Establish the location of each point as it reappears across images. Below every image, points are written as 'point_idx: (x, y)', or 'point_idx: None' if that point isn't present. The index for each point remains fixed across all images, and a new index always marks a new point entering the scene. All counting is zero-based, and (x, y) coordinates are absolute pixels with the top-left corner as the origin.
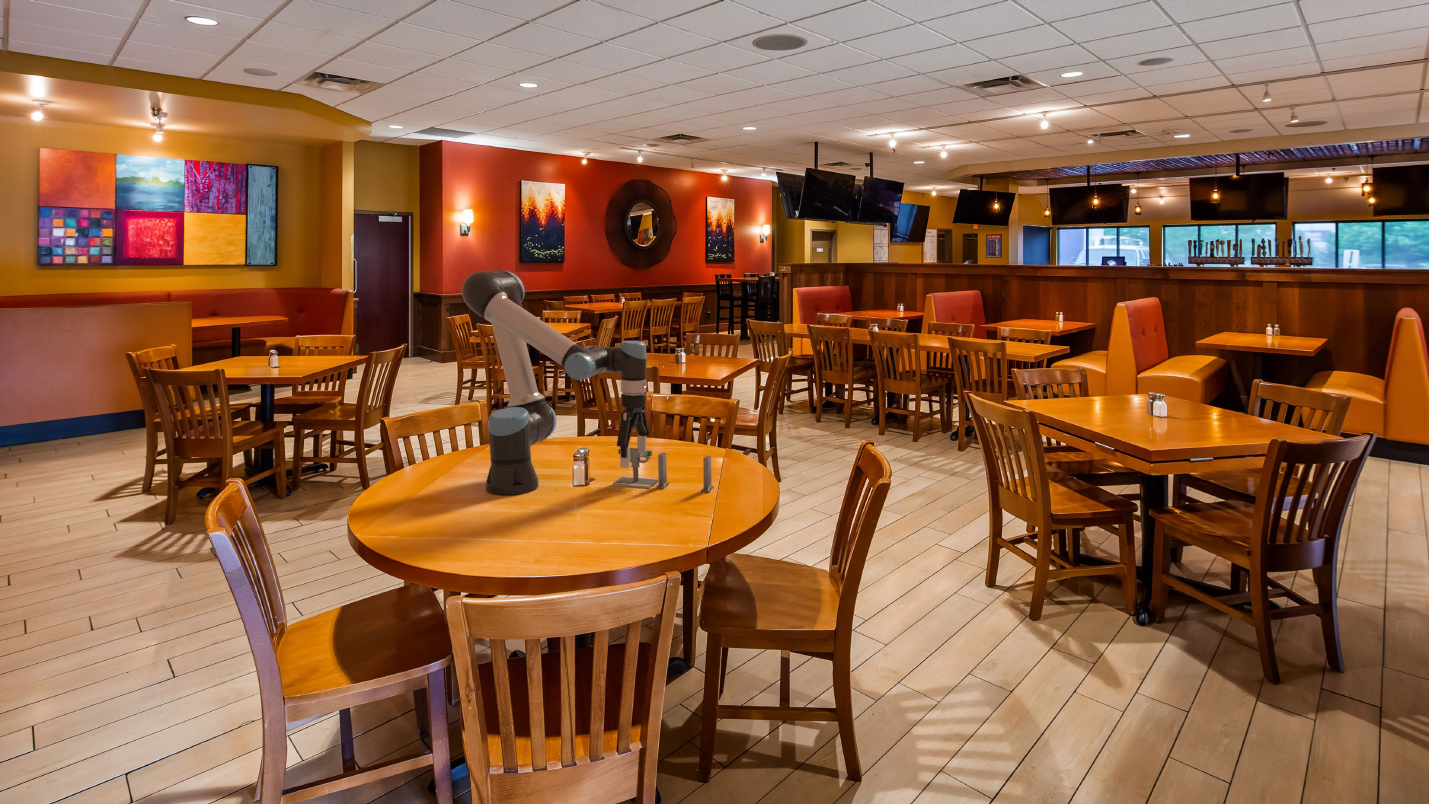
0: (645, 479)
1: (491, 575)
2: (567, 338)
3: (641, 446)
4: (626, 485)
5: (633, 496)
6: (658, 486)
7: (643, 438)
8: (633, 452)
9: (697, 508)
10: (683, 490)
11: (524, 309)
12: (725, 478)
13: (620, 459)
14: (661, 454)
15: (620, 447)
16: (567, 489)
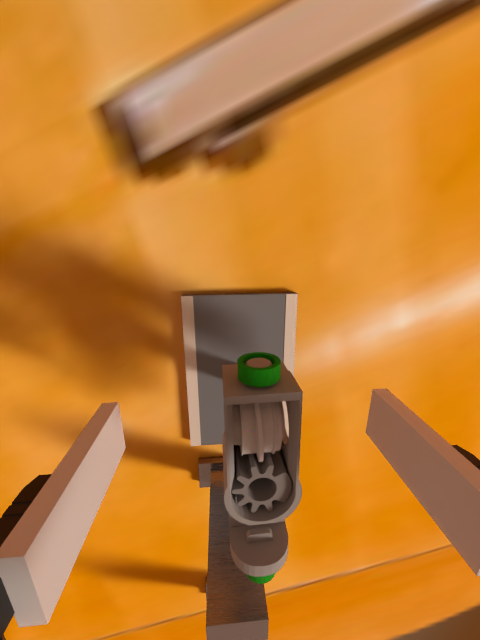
0: None
1: None
2: None
3: (411, 461)
4: (185, 356)
5: (79, 427)
6: (200, 470)
7: (465, 538)
8: (224, 485)
9: (56, 616)
10: (205, 533)
11: None
12: (353, 582)
13: (75, 442)
14: (223, 635)
15: (3, 545)
16: (38, 96)
